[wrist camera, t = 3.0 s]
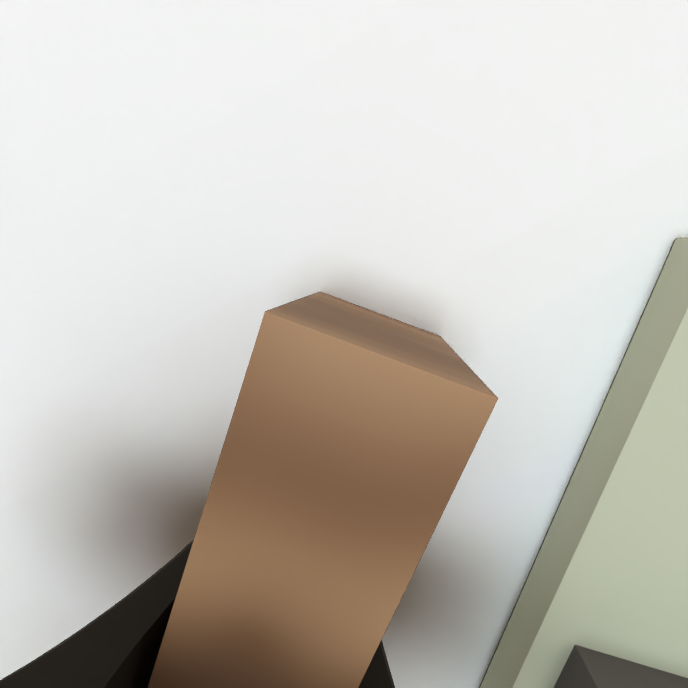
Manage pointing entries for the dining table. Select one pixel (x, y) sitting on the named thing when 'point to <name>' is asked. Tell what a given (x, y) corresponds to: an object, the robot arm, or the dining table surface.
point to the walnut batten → (320, 499)
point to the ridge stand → (618, 530)
